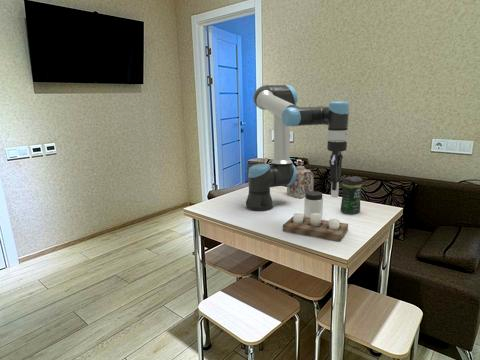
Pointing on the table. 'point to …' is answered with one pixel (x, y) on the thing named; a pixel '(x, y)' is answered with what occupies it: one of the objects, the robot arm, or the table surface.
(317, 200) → the jar
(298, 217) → the button left
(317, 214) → the button middle
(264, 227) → the table surface
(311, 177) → the decorative jar
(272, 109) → the robot arm
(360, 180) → the coffee jar
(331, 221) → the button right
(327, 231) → the button board
